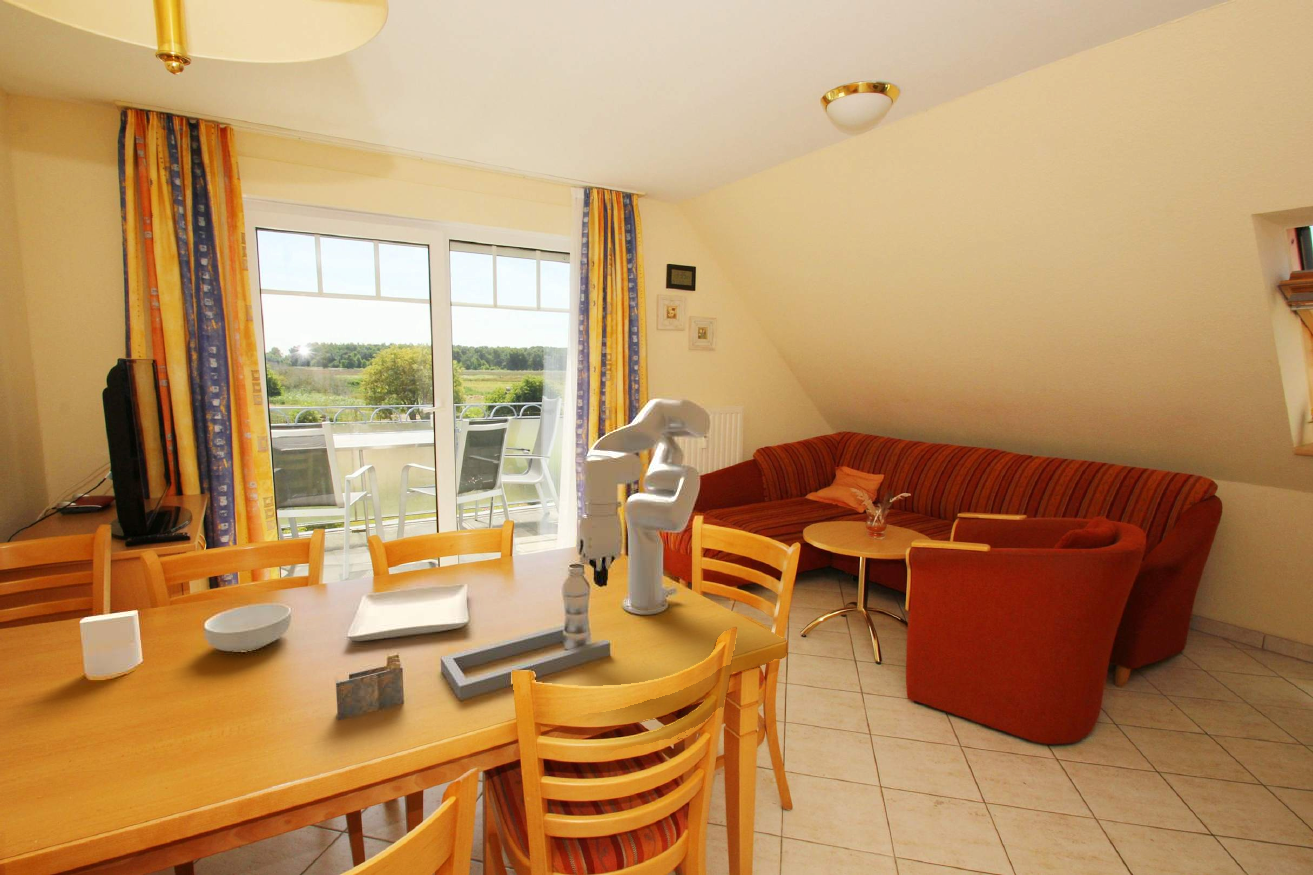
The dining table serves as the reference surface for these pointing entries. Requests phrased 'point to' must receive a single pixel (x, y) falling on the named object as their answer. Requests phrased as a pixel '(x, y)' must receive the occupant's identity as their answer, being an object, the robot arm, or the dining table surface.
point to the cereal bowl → (247, 627)
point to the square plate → (410, 612)
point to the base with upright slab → (110, 643)
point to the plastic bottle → (576, 608)
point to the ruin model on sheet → (371, 689)
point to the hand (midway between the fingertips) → (600, 584)
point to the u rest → (502, 677)
